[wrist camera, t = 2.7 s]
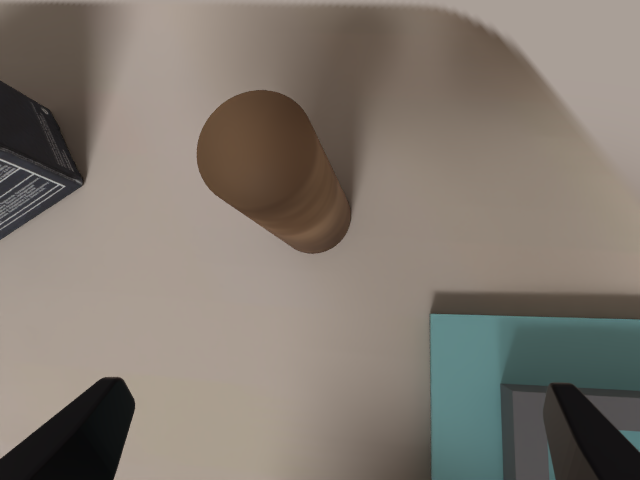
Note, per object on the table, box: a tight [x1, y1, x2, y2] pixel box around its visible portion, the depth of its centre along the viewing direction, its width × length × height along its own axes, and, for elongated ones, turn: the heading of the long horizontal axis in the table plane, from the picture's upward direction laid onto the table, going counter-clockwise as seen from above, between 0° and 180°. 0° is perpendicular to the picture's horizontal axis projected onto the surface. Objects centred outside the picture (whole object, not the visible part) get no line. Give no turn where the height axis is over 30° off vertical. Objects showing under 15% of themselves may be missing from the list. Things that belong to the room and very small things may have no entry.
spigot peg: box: [197, 90, 351, 254], centre depth 20 cm, size 4×4×10 cm
